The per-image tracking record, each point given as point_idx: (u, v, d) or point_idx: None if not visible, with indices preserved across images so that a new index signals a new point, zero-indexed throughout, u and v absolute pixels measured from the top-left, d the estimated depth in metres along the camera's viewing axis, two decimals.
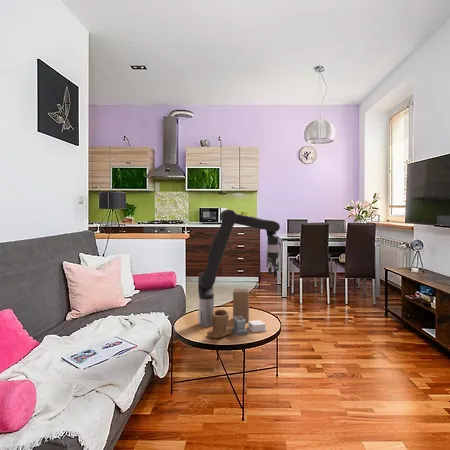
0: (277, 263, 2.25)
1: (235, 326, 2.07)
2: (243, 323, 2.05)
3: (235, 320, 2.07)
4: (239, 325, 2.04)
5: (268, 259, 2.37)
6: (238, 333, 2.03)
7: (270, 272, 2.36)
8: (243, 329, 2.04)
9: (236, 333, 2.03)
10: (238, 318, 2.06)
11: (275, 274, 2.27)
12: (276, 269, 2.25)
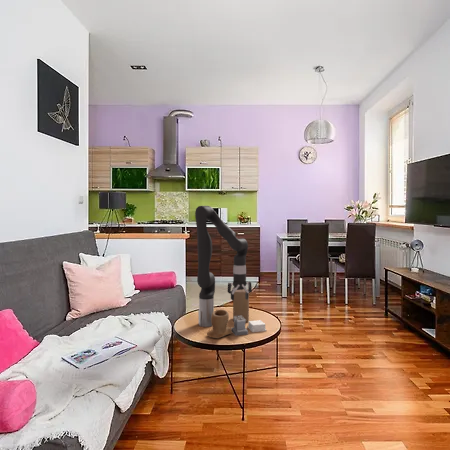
0: None
1: (235, 326, 2.07)
2: (243, 323, 2.05)
3: (235, 320, 2.07)
4: (239, 325, 2.04)
5: (230, 283, 2.04)
6: (238, 333, 2.03)
7: None
8: (243, 329, 2.04)
9: (236, 333, 2.03)
10: (238, 318, 2.06)
11: None
12: None
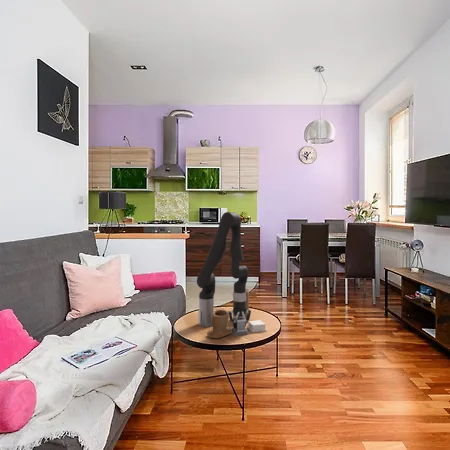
0: None
1: None
2: (243, 323, 2.05)
3: None
4: (239, 325, 2.04)
5: (230, 312, 2.05)
6: (238, 333, 2.03)
7: None
8: (243, 329, 2.04)
9: (236, 333, 2.03)
10: (238, 318, 2.06)
11: (245, 324, 2.08)
12: (248, 318, 2.09)
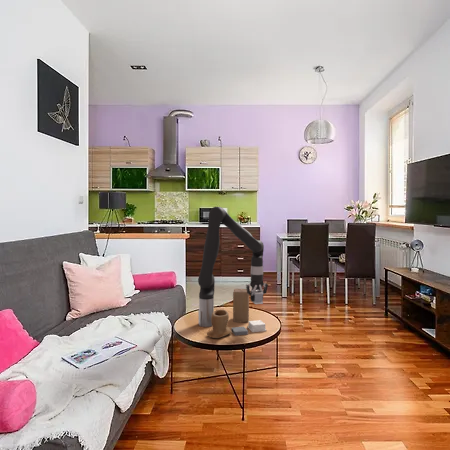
0: None
1: None
2: (260, 296, 2.10)
3: None
4: (257, 298, 2.09)
5: (248, 285, 2.10)
6: (238, 333, 2.03)
7: None
8: (260, 302, 2.10)
9: (236, 333, 2.03)
10: (255, 291, 2.11)
11: None
12: (265, 291, 2.14)
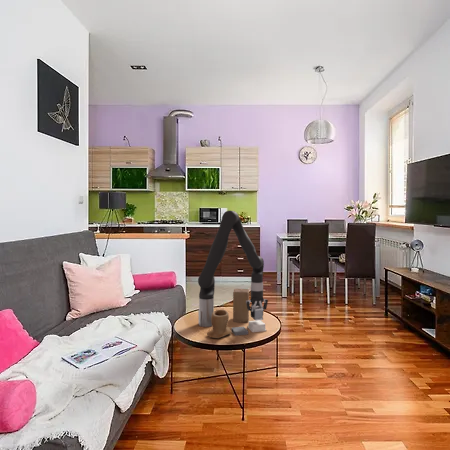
0: None
1: None
2: (260, 312, 2.10)
3: None
4: (257, 314, 2.10)
5: None
6: (238, 333, 2.03)
7: None
8: (261, 318, 2.10)
9: (236, 333, 2.03)
10: (256, 307, 2.11)
11: None
12: (265, 307, 2.14)
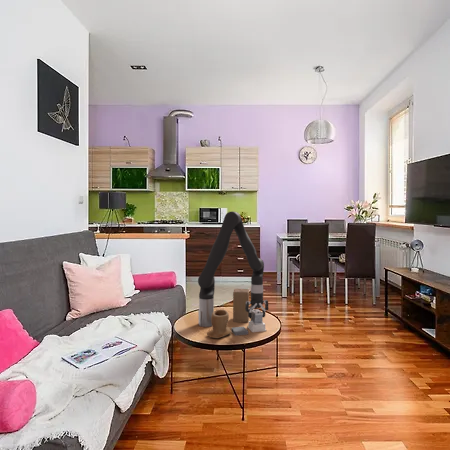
0: None
1: (252, 319, 2.13)
2: (260, 316, 2.10)
3: (252, 314, 2.13)
4: (256, 318, 2.10)
5: None
6: (238, 333, 2.03)
7: None
8: (260, 322, 2.10)
9: (236, 333, 2.03)
10: (255, 312, 2.12)
11: (264, 314, 2.15)
12: (267, 308, 2.15)
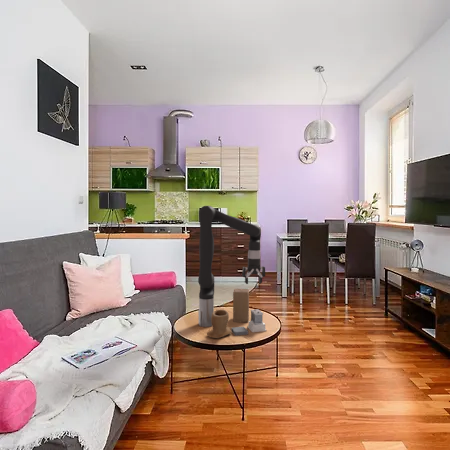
0: None
1: (252, 319, 2.13)
2: (260, 316, 2.10)
3: (252, 314, 2.13)
4: (256, 318, 2.10)
5: (245, 268, 2.12)
6: (238, 333, 2.03)
7: None
8: (260, 322, 2.10)
9: (236, 333, 2.03)
10: (255, 312, 2.12)
11: None
12: (264, 275, 2.16)
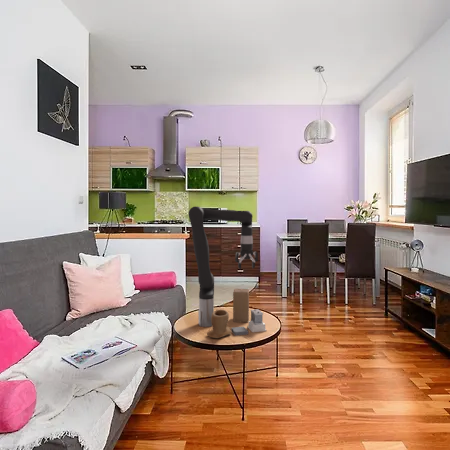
0: None
1: (252, 319, 2.13)
2: (260, 316, 2.10)
3: (252, 314, 2.13)
4: (256, 318, 2.10)
5: (238, 253, 2.16)
6: (238, 333, 2.03)
7: None
8: (260, 322, 2.10)
9: (236, 333, 2.03)
10: (255, 312, 2.12)
11: None
12: None
